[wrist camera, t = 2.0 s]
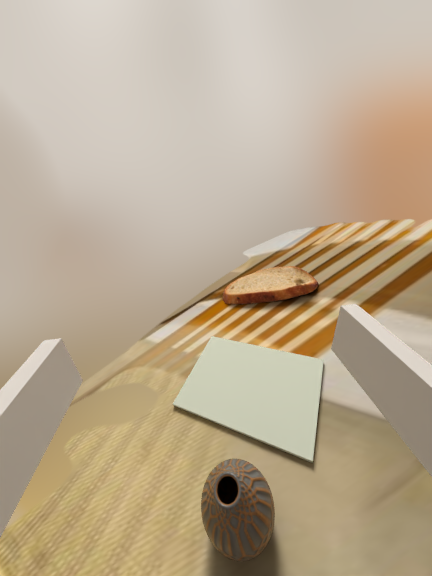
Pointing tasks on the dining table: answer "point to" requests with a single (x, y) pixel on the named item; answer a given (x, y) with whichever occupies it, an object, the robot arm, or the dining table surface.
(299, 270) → the slice of bread
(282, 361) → the mat
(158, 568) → the dining table surface
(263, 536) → the vase
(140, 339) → the dining table surface
